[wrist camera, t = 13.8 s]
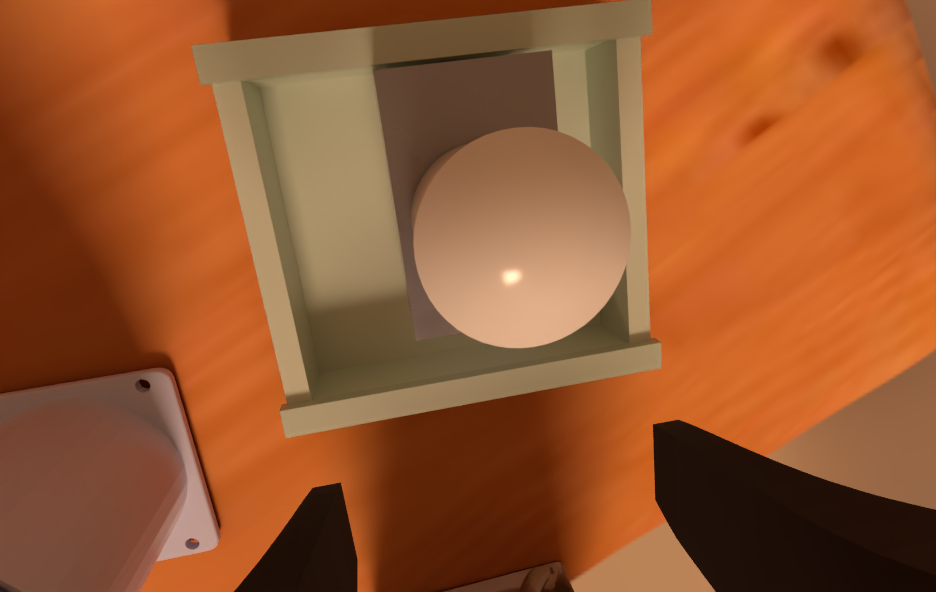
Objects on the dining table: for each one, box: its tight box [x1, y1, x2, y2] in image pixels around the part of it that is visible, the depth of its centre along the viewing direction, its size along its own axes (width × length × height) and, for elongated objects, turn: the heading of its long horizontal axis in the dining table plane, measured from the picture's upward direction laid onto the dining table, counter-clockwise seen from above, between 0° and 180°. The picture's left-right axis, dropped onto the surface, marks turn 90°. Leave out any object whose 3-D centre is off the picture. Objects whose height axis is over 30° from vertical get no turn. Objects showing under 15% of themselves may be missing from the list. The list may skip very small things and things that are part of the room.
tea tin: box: [373, 50, 558, 341], centre depth 18 cm, size 5×8×5 cm, turn 7°
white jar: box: [411, 127, 631, 348], centre depth 14 cm, size 5×5×4 cm
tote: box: [191, 0, 662, 438], centre depth 19 cm, size 13×12×4 cm
